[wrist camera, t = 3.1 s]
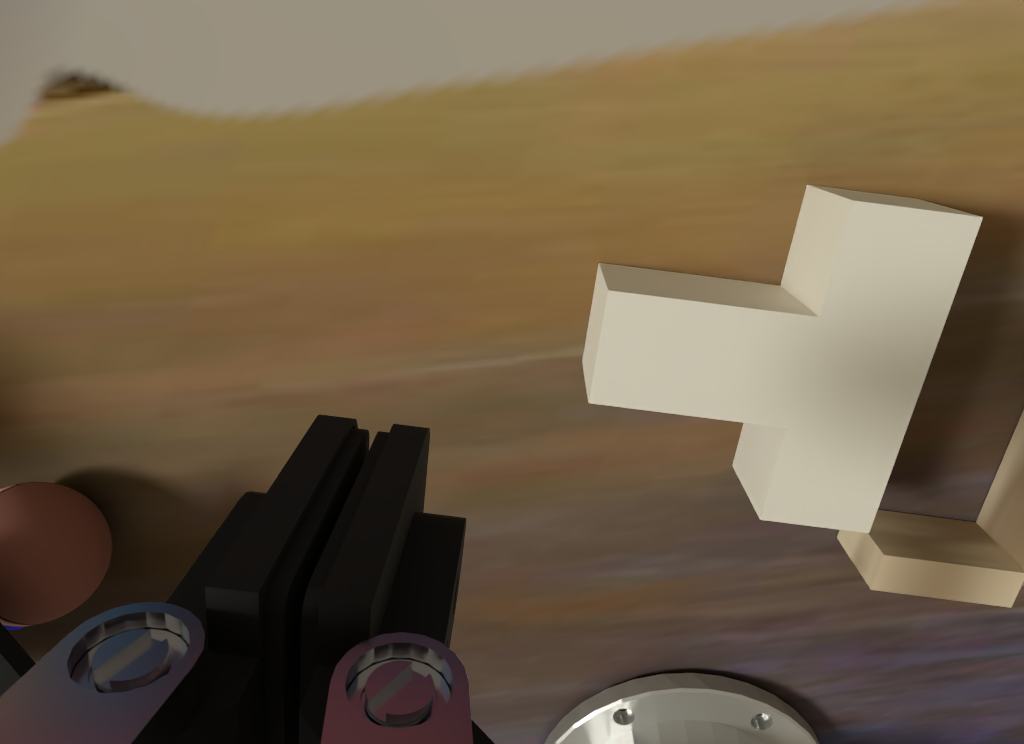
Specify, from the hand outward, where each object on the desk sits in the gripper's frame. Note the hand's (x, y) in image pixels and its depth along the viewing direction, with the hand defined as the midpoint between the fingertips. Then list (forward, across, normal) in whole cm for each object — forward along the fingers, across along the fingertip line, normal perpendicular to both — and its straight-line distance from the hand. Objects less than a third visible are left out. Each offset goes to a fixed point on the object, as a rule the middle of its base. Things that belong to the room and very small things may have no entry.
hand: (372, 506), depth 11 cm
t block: (+14, -9, +1) cm, 17 cm away
